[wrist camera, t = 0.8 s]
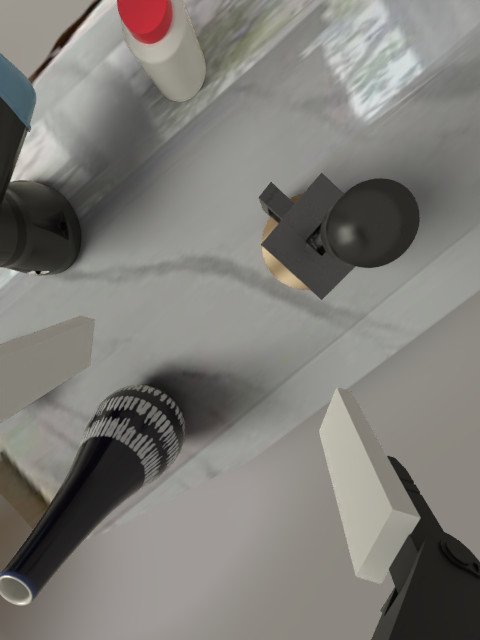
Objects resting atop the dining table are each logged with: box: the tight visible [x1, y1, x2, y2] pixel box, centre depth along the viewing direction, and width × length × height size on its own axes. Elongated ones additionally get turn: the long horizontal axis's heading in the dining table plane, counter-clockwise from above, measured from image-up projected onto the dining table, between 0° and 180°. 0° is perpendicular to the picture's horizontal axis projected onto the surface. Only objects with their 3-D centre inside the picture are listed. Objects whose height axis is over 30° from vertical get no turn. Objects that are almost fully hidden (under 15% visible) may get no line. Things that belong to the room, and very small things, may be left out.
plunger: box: [306, 179, 419, 268], centre depth 22 cm, size 7×7×19 cm
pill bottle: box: [117, 0, 206, 102], centre depth 33 cm, size 8×8×11 cm
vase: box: [0, 385, 185, 605], centre depth 38 cm, size 16×16×30 cm
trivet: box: [262, 195, 310, 290], centre depth 41 cm, size 14×14×1 cm
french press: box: [259, 173, 355, 300], centre depth 34 cm, size 13×9×13 cm
